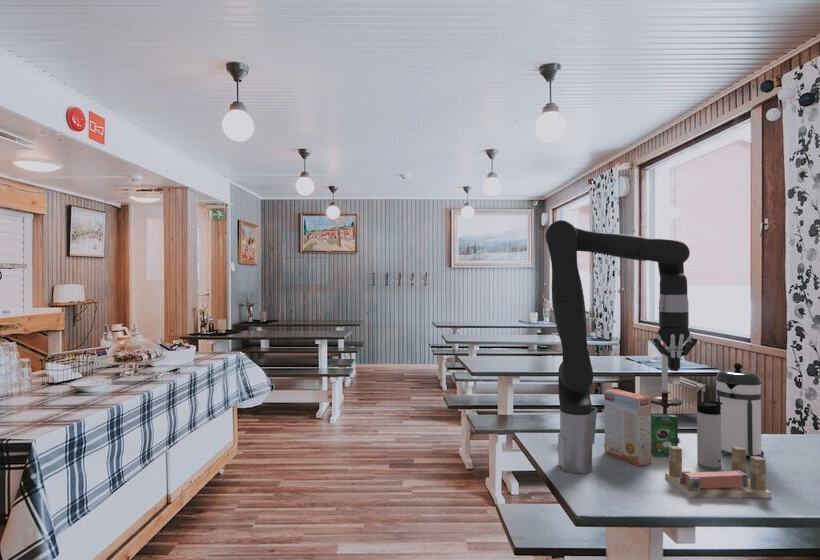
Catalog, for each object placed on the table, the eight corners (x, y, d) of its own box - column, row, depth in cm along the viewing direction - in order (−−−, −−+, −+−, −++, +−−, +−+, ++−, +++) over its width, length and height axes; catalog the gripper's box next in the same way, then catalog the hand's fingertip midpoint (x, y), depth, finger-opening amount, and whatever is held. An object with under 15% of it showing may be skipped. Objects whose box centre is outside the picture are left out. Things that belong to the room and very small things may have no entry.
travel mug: (726, 471, 145) (725, 404, 145) (702, 470, 146) (701, 403, 147) (717, 464, 151) (717, 399, 151) (694, 462, 153) (693, 398, 153)
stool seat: (690, 497, 127) (690, 461, 128) (665, 477, 141) (664, 444, 141) (772, 498, 127) (772, 462, 127) (739, 478, 140) (739, 445, 140)
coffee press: (781, 464, 150) (780, 367, 151) (724, 462, 153) (723, 366, 153) (751, 446, 168) (750, 358, 168) (700, 444, 170) (700, 358, 170)
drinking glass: (568, 435, 181) (568, 402, 181) (597, 438, 177) (597, 405, 177) (566, 443, 171) (566, 409, 171) (597, 447, 167) (597, 412, 168)
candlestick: (651, 433, 182) (650, 339, 183) (684, 438, 176) (683, 341, 176) (645, 441, 174) (645, 342, 174) (680, 446, 167) (679, 344, 168)
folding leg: (690, 477, 129) (746, 474, 128) (684, 472, 132) (739, 470, 132) (691, 489, 129) (747, 486, 128) (685, 484, 132) (739, 482, 132)
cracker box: (652, 464, 151) (652, 396, 151) (637, 467, 149) (637, 398, 149) (617, 450, 164) (617, 387, 164) (604, 452, 162) (603, 389, 162)
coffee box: (673, 453, 161) (673, 413, 161) (678, 456, 158) (678, 416, 158) (649, 453, 161) (649, 413, 161) (654, 457, 158) (654, 416, 158)
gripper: (656, 311, 137) (656, 372, 137) (704, 311, 137) (704, 372, 137) (644, 309, 145) (644, 368, 145) (689, 309, 144) (690, 368, 144)
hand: (674, 370), depth 141 cm, fingers closed
